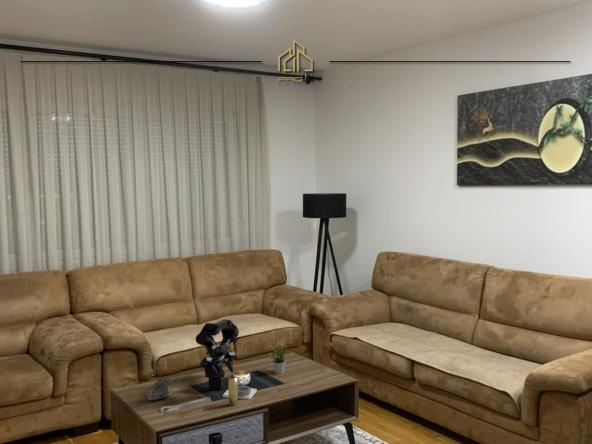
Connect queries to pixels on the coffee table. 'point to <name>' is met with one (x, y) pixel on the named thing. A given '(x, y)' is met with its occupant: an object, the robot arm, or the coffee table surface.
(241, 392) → the pipe plate
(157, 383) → the mineral rock
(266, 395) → the coffee table surface
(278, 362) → the house plant
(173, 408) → the adjustable wrench
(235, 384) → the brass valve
